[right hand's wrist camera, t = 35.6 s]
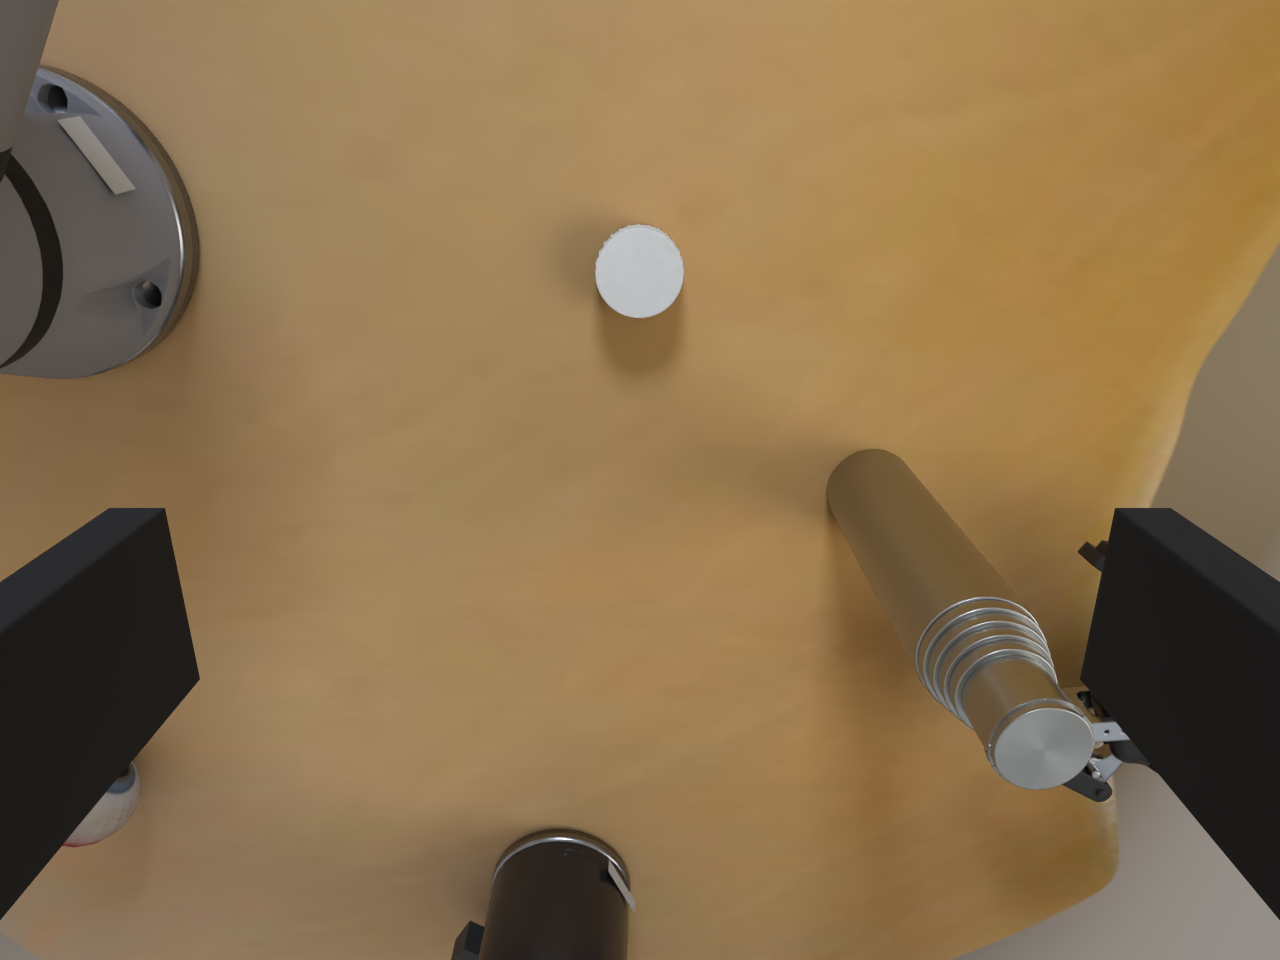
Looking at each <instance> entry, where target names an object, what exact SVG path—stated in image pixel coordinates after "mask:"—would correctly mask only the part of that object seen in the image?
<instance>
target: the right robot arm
mask: <svg viewBox="0 0 1280 960" xmlns="http://www.w3.org/2000/svg"><path fill="white" fill-rule="evenodd" d="M58 1H59V0H0V374H10V375H21V376H31V377H42V378H53V379H70V378H80V377H87V376H91V375H95V374H99V373H103V372H105V371H108V370H111V369H114V368H116V367H118V366H121V365H123V364H125V363H128V362H130V361H133V360H134V359H136V358H138V357H140V356H142V355H144V354H146V353H147V352H149V351H150V350H152V349H153V348H155V347H156V346H157V345H158V344H159V343H160V342H162V341H163V340H164V339H165V338H166V337H167V336H168V335H169V334H170V332H171V331H172V330H173V329H174V328H175V326H176V325H177V323H178V322H179V321H180V319H181V317H182V316H183V314H184V312H185V310H186V308H187V306H188V304H189V301H190V299H191V296H192V293H193V290H194V286H195V282H196V277H197V271H198V260H199V241H198V233H197V225H196V221H195V216H194V211H193V208H192V205H191V201H190V198H189V195H188V193H187V190H186V188H185V185H184V183H183V180H182V178H181V176H180V174H179V172H178V171H177V169H176V167H175V165H174V163H173V162H172V160H171V158H170V157H169V155H168V153H167V152H166V150H165V149H164V148H163V146H162V145H161V144H160V142H159V141H158V139H157V138H156V137H155V136H154V135H153V133H152V132H151V131H150V130H149V129H148V128H147V126H146V125H145V124H144V123H143V122H142V121H141V120H140V119H139V118H138V117H137V116H136V115H135V114H134V113H133V112H131V111H130V110H129V109H128V108H127V107H126V106H124V105H123V104H122V103H121V102H120V101H118V100H117V99H115V98H114V97H113V96H111V95H110V94H108V93H107V92H105V91H104V90H102V89H100V88H99V87H97V86H95V85H94V84H92V83H90V82H88V81H86V80H84V79H82V78H80V77H78V76H76V75H73V74H70V73H68V72H65V71H62V70H60V69H56V68H52V67H48V66H45V65H40V64H39V63H40V60H41V57H42V53H43V50H44V47H45V43H46V40H47V37H48V34H49V30H50V27H51V24H52V20H53V17H54V14H55V11H56V7H57V4H58ZM199 680H200V677H199V672H198V667H197V663H196V658H195V653H194V648H193V643H192V638H191V633H190V628H189V624H188V619H187V614H186V609H185V604H184V599H183V594H182V590H181V585H180V580H179V575H178V570H177V565H176V560H175V555H174V551H173V546H172V541H171V536H170V531H169V526H168V521H167V517H166V512H165V508H109V509H107V510H106V511H104V512H103V513H101V514H100V515H98V516H97V517H96V518H94V519H93V520H91V521H90V522H88V523H87V524H85V525H84V526H82V527H81V528H79V529H78V530H76V531H75V532H73V533H72V534H71V535H69V536H68V537H66V538H65V539H63V540H62V541H60V542H59V543H57V544H56V545H54V546H53V547H51V548H50V549H48V550H47V551H45V552H44V553H43V554H41V555H40V556H38V557H37V558H35V559H34V560H32V561H31V562H29V563H28V564H26V565H25V566H23V567H22V568H20V569H19V570H17V571H16V572H15V573H13V574H12V575H10V576H9V577H7V578H6V579H4V580H3V581H1V582H0V920H1V919H2V917H3V916H4V915H5V914H6V913H7V911H8V910H9V909H10V908H11V907H12V905H13V904H14V903H15V902H16V900H17V899H18V898H19V897H20V896H21V894H22V893H23V892H24V891H25V890H26V888H27V887H28V886H29V885H30V884H31V882H32V881H33V880H34V879H35V878H36V876H37V875H38V874H39V873H40V872H41V870H42V869H43V868H44V867H45V865H46V864H47V863H48V862H49V861H50V859H51V858H52V857H53V856H54V855H55V853H56V852H57V851H58V850H59V849H60V847H61V846H62V845H63V844H64V843H65V841H66V840H67V839H68V838H69V837H70V835H71V834H72V833H73V832H74V830H75V829H76V828H77V827H78V826H79V824H80V823H81V822H82V821H83V820H84V818H85V817H86V816H87V815H88V814H89V812H90V811H91V810H92V809H93V808H94V806H95V805H96V804H97V803H98V801H99V800H100V799H101V798H102V797H103V795H104V794H105V793H106V792H107V791H108V789H109V788H110V787H111V786H112V785H113V783H114V782H115V781H116V780H117V779H118V777H119V776H120V775H121V774H122V773H123V771H124V770H125V769H126V768H127V766H128V765H129V764H130V763H131V762H132V760H133V759H134V758H135V757H136V756H137V754H138V753H139V752H140V751H141V750H142V748H143V747H144V746H145V745H146V744H147V742H148V741H149V740H150V739H151V738H152V736H153V735H154V734H155V733H156V731H157V730H158V729H159V728H160V727H161V725H162V724H163V723H164V722H165V721H166V719H167V718H168V717H169V716H170V715H171V713H172V712H173V711H174V710H175V709H176V707H177V706H178V705H179V704H180V703H181V701H182V700H183V699H184V698H185V696H186V695H187V694H188V693H189V692H190V690H191V689H192V688H193V687H194V686H195V684H196V683H197V682H198V681H199ZM1080 680H1081V681H1082V682H1083V683H1084V684H1085V686H1086V687H1087V688H1088V689H1089V690H1090V692H1091V693H1092V694H1093V695H1094V696H1095V698H1096V699H1097V700H1098V701H1099V703H1100V704H1101V705H1102V706H1103V707H1104V709H1105V710H1106V711H1107V712H1108V713H1109V715H1110V716H1111V717H1112V718H1113V719H1114V721H1115V722H1116V723H1117V724H1118V725H1119V727H1120V728H1121V729H1122V730H1123V731H1124V733H1125V734H1126V735H1127V736H1128V738H1129V739H1130V740H1131V741H1132V742H1133V744H1134V745H1135V746H1136V747H1137V748H1138V750H1139V751H1140V752H1141V753H1142V754H1143V756H1144V757H1145V758H1146V759H1147V760H1148V762H1149V763H1150V764H1151V765H1152V766H1153V768H1154V769H1155V770H1156V771H1157V773H1158V774H1159V775H1160V776H1161V777H1162V779H1163V780H1164V781H1165V782H1166V783H1167V785H1168V786H1169V787H1170V788H1171V789H1172V791H1173V792H1174V793H1175V794H1176V795H1177V797H1178V798H1179V799H1180V800H1181V801H1182V803H1183V804H1184V805H1185V806H1186V808H1187V809H1188V810H1189V811H1190V812H1191V814H1192V815H1193V816H1194V817H1195V818H1196V820H1197V821H1198V822H1199V823H1200V824H1201V826H1202V827H1203V828H1204V829H1205V830H1206V832H1207V833H1208V834H1209V835H1210V837H1211V838H1212V839H1213V840H1214V841H1215V843H1216V844H1217V845H1218V846H1219V847H1220V849H1221V850H1222V851H1223V852H1224V853H1225V855H1226V856H1227V857H1228V858H1229V859H1230V861H1231V862H1232V863H1233V864H1234V865H1235V867H1236V868H1237V869H1238V870H1239V872H1240V873H1241V874H1242V875H1243V876H1244V878H1245V879H1246V880H1247V881H1248V882H1249V884H1250V885H1251V886H1252V887H1253V888H1254V890H1255V891H1256V892H1257V893H1258V894H1259V896H1260V897H1261V898H1262V899H1263V900H1264V902H1265V903H1266V904H1267V905H1268V906H1269V908H1270V909H1271V910H1272V911H1273V913H1274V914H1275V915H1276V916H1277V917H1278V919H1279V920H1280V582H1279V581H1277V580H1276V579H1274V578H1273V577H1271V576H1270V575H1268V574H1267V573H1265V572H1264V571H1262V570H1261V569H1260V568H1258V567H1257V566H1255V565H1254V564H1252V563H1251V562H1249V561H1248V560H1246V559H1245V558H1243V557H1242V556H1240V555H1239V554H1237V553H1236V552H1234V551H1233V550H1232V549H1230V548H1229V547H1227V546H1226V545H1224V544H1223V543H1221V542H1220V541H1218V540H1217V539H1215V538H1214V537H1212V536H1211V535H1209V534H1208V533H1207V532H1205V531H1204V530H1202V529H1201V528H1199V527H1198V526H1196V525H1195V524H1193V523H1192V522H1190V521H1189V520H1187V519H1186V518H1184V517H1183V516H1182V515H1180V514H1178V513H1177V512H1176V511H1174V510H1173V509H1171V508H1115V512H1114V517H1113V521H1112V526H1111V531H1110V536H1109V541H1108V546H1107V551H1106V555H1105V560H1104V565H1103V570H1102V575H1101V580H1100V585H1099V590H1098V594H1097V599H1096V604H1095V609H1094V614H1093V619H1092V624H1091V628H1090V633H1089V638H1088V643H1087V648H1086V653H1085V658H1084V663H1083V667H1082V672H1081V677H1080Z"/></svg>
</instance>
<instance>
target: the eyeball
mask: <svg viewBox="0 0 1280 960" xmlns="http://www.w3.org/2000/svg"><path fill="white" fill-rule="evenodd" d="M140 794H141V779H140V775H139V772H138V769H137V767H136V766H135V764H134V763H133V761H132V762H131V763H130V764H129V765H128V766H127V768H126V769H125V770H124V771H123V773H122V774H121V775H120V776H119V777H118V779H117V780H116V781H115V782H114V783H113V785H112V786H111V787H110V788H109V789H108V791H107V792H106V793H105V794H104V795H103V797H102V798H101V799H100V800H99V801H98V803H97V804H96V805H95V806H94V808H93V809H92V810H91V811H90V812H89V814H88V815H87V816H86V817H85V818H84V820H83V821H82V822H81V823H80V824H79V826H78V827H77V828H76V829H75V830H74V832H73V833H72V834H71V835H70V837H69V838H68V839H67V840H66V841H65V843H64V844H63V845H62V846H69V847H80V846H85V845H90V844H94V843H97V842H100V841H101V840H103V839H105V838H107V837H108V836H110V835H112V834H114V833H115V832H117V831H118V830H119V829H120V828H121V827H122V826H123V825H124V824H125V823H126V822H127V820H128V819H129V818H130V817H131V815H132V814H133V813H134V811H135V808H136V806H137V803H138V801H139V798H140Z"/></svg>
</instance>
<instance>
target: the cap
mask: <svg viewBox="0 0 1280 960" xmlns="http://www.w3.org/2000/svg"><path fill="white" fill-rule="evenodd" d="M679 253H680V251H679V249H678V248H676V246H675V243H674V241H673V240H671V239H670V238H669V237H668V236H667V233H663V232H662V231H660V230H659V228H657V229H656V228H654V227H651V226H649V225H639V224H638V225H632V226H630V225H628V227H625V228H622V229H619V230H618V231H617V232H615V233H614V234H611V236H610V237H609V239H608V240H607V241H605V242H604V244H603V247H602V249H601V250H599V253H598V255H599V256H598V259H597V260H596V262H595V264H596V269H595V273H594V274H595V278H596V284H597V287H598V290H599V293H600V294H601V296H602V298H603V299H604V301H605V302H606V303H607V304H608V305H609V306H610V307H611V308H612V309H614V310H615V311H616V312H618V313H620V314H622V315H625V316H628V317H632V318H646V317H651V316H654V315H656V314H659V313H661V312H662V311H664V310H665V309H666V308H668V307H669V306H670V305H671V304H672V303H673V301H675V299H676V297H677V295H678V294H679V292H680V289H681V286H682V283H683V273H684V269H683V264H682V263H683V260H682V257H680V254H679Z"/></svg>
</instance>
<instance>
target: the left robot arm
mask: <svg viewBox="0 0 1280 960" xmlns="http://www.w3.org/2000/svg"><path fill="white" fill-rule="evenodd" d="M1107 546H1108V541H1103V540H1102V541H1101V542H1100V543H1099V544H1098V546H1097V547H1095V546H1093V545H1092V544H1090V543H1088V542H1086V543H1085V544H1084V545H1083V546H1082V547H1081V548H1080V549H1079V550H1078V553H1079V554H1080V555H1082V556H1083V557H1084V558H1085V559H1086V560H1087V561H1088V562H1089V563H1090V564H1092V565H1093V566H1094V567H1095V568H1097V569H1098V570H1100V571H1101V572H1102V570H1103V565H1104V560H1105V555H1106V551H1107ZM1061 689H1062V691H1063V692H1064V693H1065V695H1066V696H1067V697H1068V698H1069V700H1070V701H1071V702H1072V703H1073V704H1074V705H1075V706H1077V707H1078V708H1080V710H1081V711H1082V712H1083V714H1084V715H1085V716H1086V717H1087V719H1088V720H1089V721H1090V723H1091V724H1092V726H1093V729H1094V732H1095V742H1103V743H1104V745H1103V746H1101V747H1100V748H1097V749H1093V753H1092V756H1091V758H1090V760H1089V762H1088V763H1087V765H1086V766H1085V767H1084V769H1083V770H1082V771H1081V772H1080V773H1079V774H1078V775H1076V776H1075V777H1074V778H1072V779H1071V780H1069V781H1068V782H1066V783H1064V784H1062V785H1064V786H1066V787H1068V788H1070V789H1072V790H1074V791H1076V792H1078V793H1080V794H1082V795H1084V796H1086V797H1088V798H1090V799H1092V800H1094V801H1096V802H1102V801H1105V800H1107V799H1108V798H1109V797H1110V796H1111V795H1112V789H1111V787H1110V786H1109V784H1108V783H1107V782H1106V781H1107V780H1108V779H1109V778H1110V777H1111V775H1112V774H1113V773H1114V772H1115V771H1116V770H1117V769H1118V768H1119V767H1120V765H1121V764H1122V763H1123V762H1126V763H1137V764H1142V765H1145V766H1147V767H1149V768H1151V769H1152V770H1153V771H1155V772H1157V771H1156V770H1155V769H1154V768H1153V766H1152V765H1151V764H1150V763H1149V762H1148V760H1147V759H1146V758H1145V757H1144V756H1143V754H1142V753H1141V752H1140V751H1139V750H1138V748H1137V747H1136V746H1135V745H1134V744H1133V742H1132V741H1131V740H1130V739H1129V738H1128V736H1127V735H1126V734H1125V733H1124V731H1123V730H1122V729H1121V728H1120V727H1119V725H1118V724H1117V723H1116V722H1115V721H1114V719H1113V718H1112V717H1111V716H1110V715H1109V713H1108V712H1107V711H1106V710H1105V709H1104V707H1103V706H1102V705H1101V704H1100V703H1099V701H1098V700H1097V699H1096V698H1095V696H1094V695H1093V694H1092V693H1091V692H1090V690H1089V689H1088V688H1087V687H1086V686H1074V687H1062V688H1061ZM1092 708H1094V712H1095V715H1093V714H1092V713H1090V711H1089V710H1088V709H1092ZM629 905H630V907H631V908H632V910H633V912H634V913H635V900H634V899H633V897H632V895H631V894H630V877H629V873H628V870H627V867H626V865H625V863H624V861H623V860H622V858H621V857H620V856H619V854H618V853H617V852H616V851H615V850H614V849H613V848H612V847H610V846H609V845H608V844H606V843H605V842H603V841H602V840H600V839H598V838H596V837H594V836H592V835H589V834H586V833H582V832H579V831H573V830H562V829H556V830H546V831H541V832H537V833H533V834H531V835H528V836H526V837H524V838H522V839H520V840H518V841H517V842H515V843H514V844H512V845H511V846H510V847H509V848H508V849H507V850H506V851H505V852H504V853H503V854H502V856H501V857H500V859H499V860H498V862H497V865H496V867H495V871H494V875H493V880H492V885H491V898H490V903H489V908H488V913H487V917H486V922H485V927H483V926H481V925H478V924H476V923H474V922H472V921H469V923H468V924H467V925H466V927H465V928H464V929H463V931H462V932H461V933H460V935H459V936H458V937H457V939H456V941H455V945H454V950H453V954H452V958H451V960H627V943H628V906H629Z"/></svg>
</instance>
